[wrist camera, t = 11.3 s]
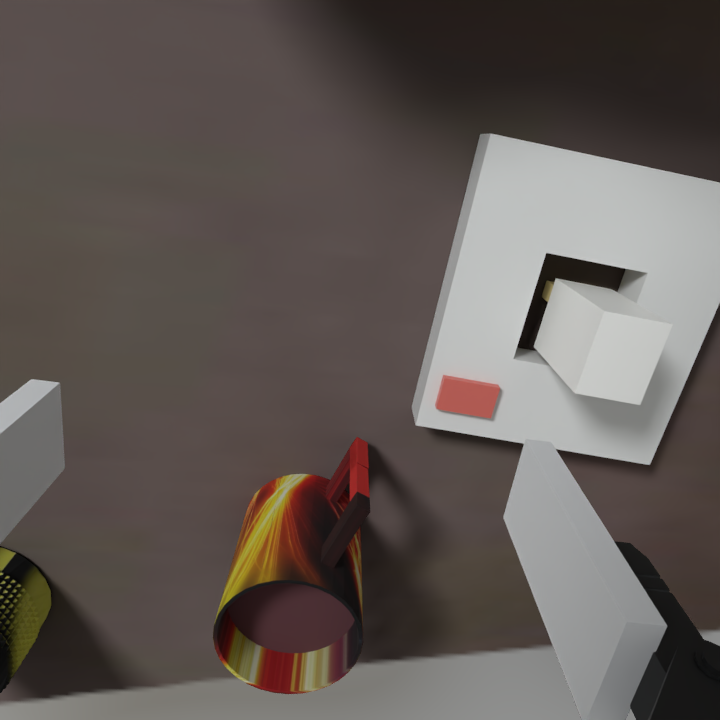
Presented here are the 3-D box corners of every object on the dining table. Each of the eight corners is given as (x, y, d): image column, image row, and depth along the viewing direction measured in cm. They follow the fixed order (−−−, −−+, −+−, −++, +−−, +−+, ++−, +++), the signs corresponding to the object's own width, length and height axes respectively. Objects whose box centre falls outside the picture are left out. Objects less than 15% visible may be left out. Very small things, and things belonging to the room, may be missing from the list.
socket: (480, 133, 37) (493, 133, 34) (737, 188, 39) (773, 193, 36) (411, 407, 44) (416, 429, 41) (631, 445, 46) (653, 469, 42)
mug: (367, 430, 45) (372, 526, 34) (357, 571, 50) (359, 696, 39) (243, 424, 45) (207, 519, 34) (246, 567, 50) (215, 691, 39)
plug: (546, 271, 41) (604, 311, 31) (599, 282, 41) (672, 324, 32) (525, 337, 42) (574, 393, 33) (577, 347, 43) (640, 405, 33)
